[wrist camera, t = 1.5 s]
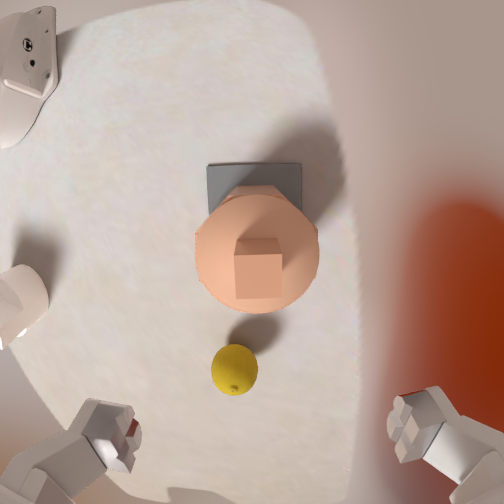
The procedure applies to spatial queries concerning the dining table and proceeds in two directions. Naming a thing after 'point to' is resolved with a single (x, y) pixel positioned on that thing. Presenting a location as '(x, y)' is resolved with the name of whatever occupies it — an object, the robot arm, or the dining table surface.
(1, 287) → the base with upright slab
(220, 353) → the lemon
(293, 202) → the mat
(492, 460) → the robot arm
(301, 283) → the cloche
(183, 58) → the dining table surface
